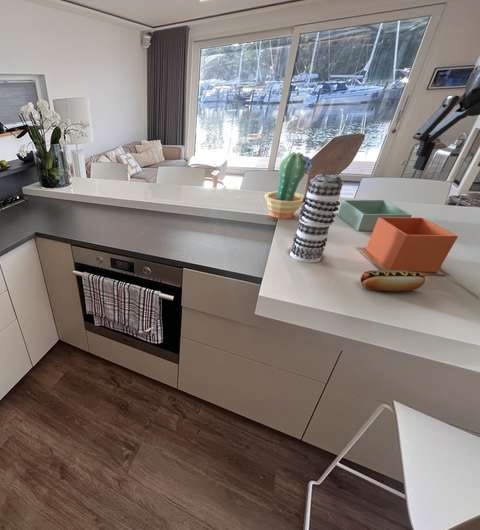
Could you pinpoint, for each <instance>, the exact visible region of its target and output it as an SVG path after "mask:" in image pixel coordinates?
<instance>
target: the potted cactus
mask: <svg viewBox="0 0 480 530" xmlns="http://www.w3.org/2000/svg"><path fill="white" fill-rule="evenodd" d="M312 168H313V164H312V161H311V158H310V157H309V156H306V155H304V153H302V152H300V151H299V152H296V151H293V152H289V153H288V154H287V155H286V156H285V157H284V158H283V159H282V160H281V161H280V163H279V168H278V186H277V190H276V191H268V192H266V193H264V201H265V202H266V206H267V208H268V210H269V212H268V213H269V214H268V215H269V216H270V217H272V218H275V219H283V220H285V219H291V218H293V217H294V214H295V213H296V212H297V211H298V210H299V209H300V208H301V207H302V204H304V202H302V200H303V198H304V196H305V195H304V194H301V193H299V192H296V191H297V189H298V186H299V184H300V182H301V180H303V178H304V177H305V173H306V174H307V175H308V174H309V173H310V172H311V171H312ZM306 170H307V172H306ZM305 200H306V199H305Z"/></svg>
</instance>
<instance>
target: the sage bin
mask: <svg viewBox="0 0 480 530" xmlns="http://www.w3.org/2000/svg"><path fill="white" fill-rule="evenodd" d="M337 215H338V217H340V218H341V219H342V220H344V221H345V222H346V223H347V224H349V225H350V226H351V227H353V229H355V230H356V231H358V232H361V231H362V232H364V231H365V232H366V231H367V232H373V230H374V227H375V225H376V223H377V220H378V218H379V217H405V218H412V217H413V215H412V213H409V212H408V211H405V210H404V209H402V208H401V207H398V206H396V205H395V204H393V203H391V202H390V201H388V200H385V199H342V201H341V203H340V207H339V209H338V212H337Z"/></svg>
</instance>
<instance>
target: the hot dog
mask: <svg viewBox="0 0 480 530" xmlns="http://www.w3.org/2000/svg"><path fill="white" fill-rule="evenodd" d="M425 276H426V275H424V274H422V273H419V272H414V271H407V270H379V269H376V270H375V269H374V270H373V269H372V270H364V271H363V272H362V274H361V275H360V277H359V282H360V284H361V286H362V287H363V288H366V289H368V290H369V291H378V292H408V291H409V292H410V291H415V290H418V289H419V288H421V287H422V286H423V285H424V283H425V282H426V277H425Z"/></svg>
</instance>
